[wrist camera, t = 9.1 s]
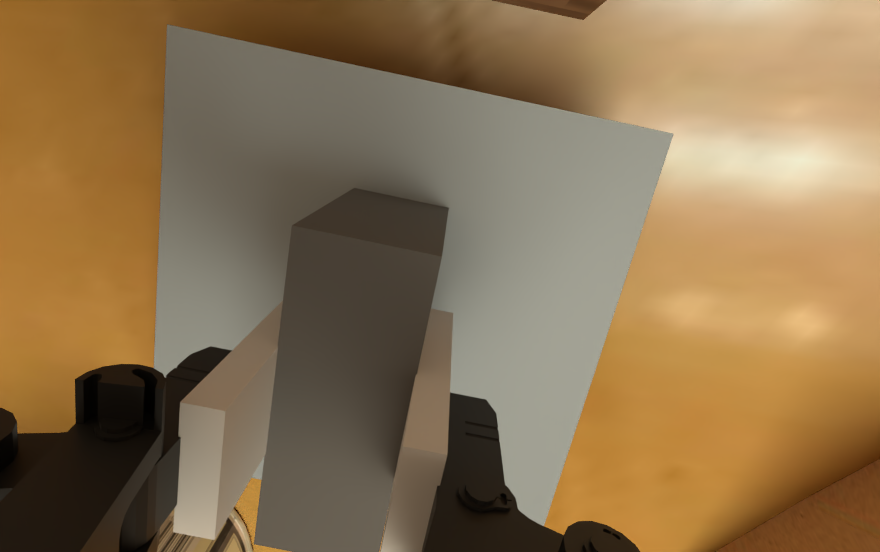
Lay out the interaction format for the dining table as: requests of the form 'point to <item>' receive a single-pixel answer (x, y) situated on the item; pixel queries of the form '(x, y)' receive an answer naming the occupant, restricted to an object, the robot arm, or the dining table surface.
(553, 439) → the lid
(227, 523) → the coffee can
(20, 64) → the dining table surface
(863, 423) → the dining table surface
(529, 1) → the box
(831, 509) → the sandwich container
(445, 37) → the dining table surface
